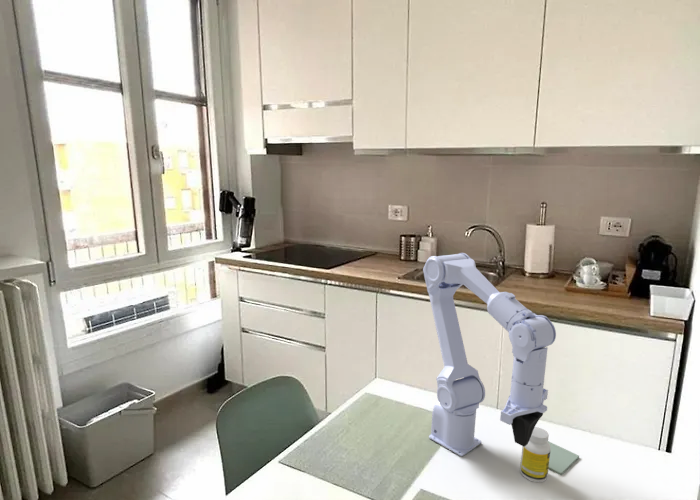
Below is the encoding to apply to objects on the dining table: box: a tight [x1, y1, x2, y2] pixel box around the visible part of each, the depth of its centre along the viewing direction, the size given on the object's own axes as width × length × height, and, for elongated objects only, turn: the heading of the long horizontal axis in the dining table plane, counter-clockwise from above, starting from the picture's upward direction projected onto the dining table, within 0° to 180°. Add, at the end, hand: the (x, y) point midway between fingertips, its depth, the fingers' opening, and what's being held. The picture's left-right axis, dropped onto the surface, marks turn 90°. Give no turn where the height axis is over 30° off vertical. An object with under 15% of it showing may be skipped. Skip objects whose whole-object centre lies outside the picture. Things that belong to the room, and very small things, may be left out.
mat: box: [548, 440, 580, 476], centre depth 103 cm, size 8×9×1 cm
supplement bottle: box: [519, 426, 551, 483], centre depth 97 cm, size 5×5×10 cm
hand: (521, 443), depth 91 cm, fingers closed
